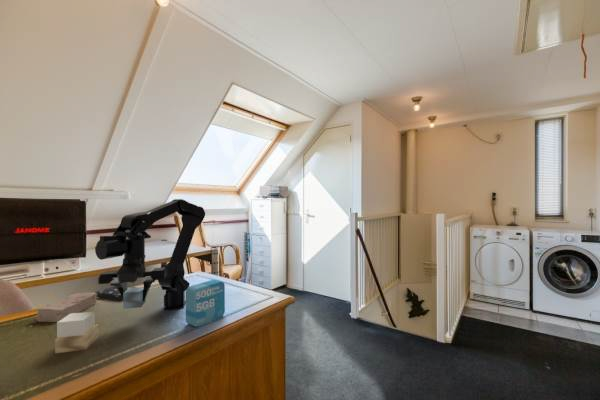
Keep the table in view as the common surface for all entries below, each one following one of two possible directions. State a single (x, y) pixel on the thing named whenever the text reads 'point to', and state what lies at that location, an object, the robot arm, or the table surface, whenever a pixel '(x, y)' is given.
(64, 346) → the oak slab
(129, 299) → the blue cube
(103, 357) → the table surface
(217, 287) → the data package
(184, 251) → the robot arm
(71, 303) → the brick
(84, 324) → the white slab
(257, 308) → the table surface
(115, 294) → the disk drive
